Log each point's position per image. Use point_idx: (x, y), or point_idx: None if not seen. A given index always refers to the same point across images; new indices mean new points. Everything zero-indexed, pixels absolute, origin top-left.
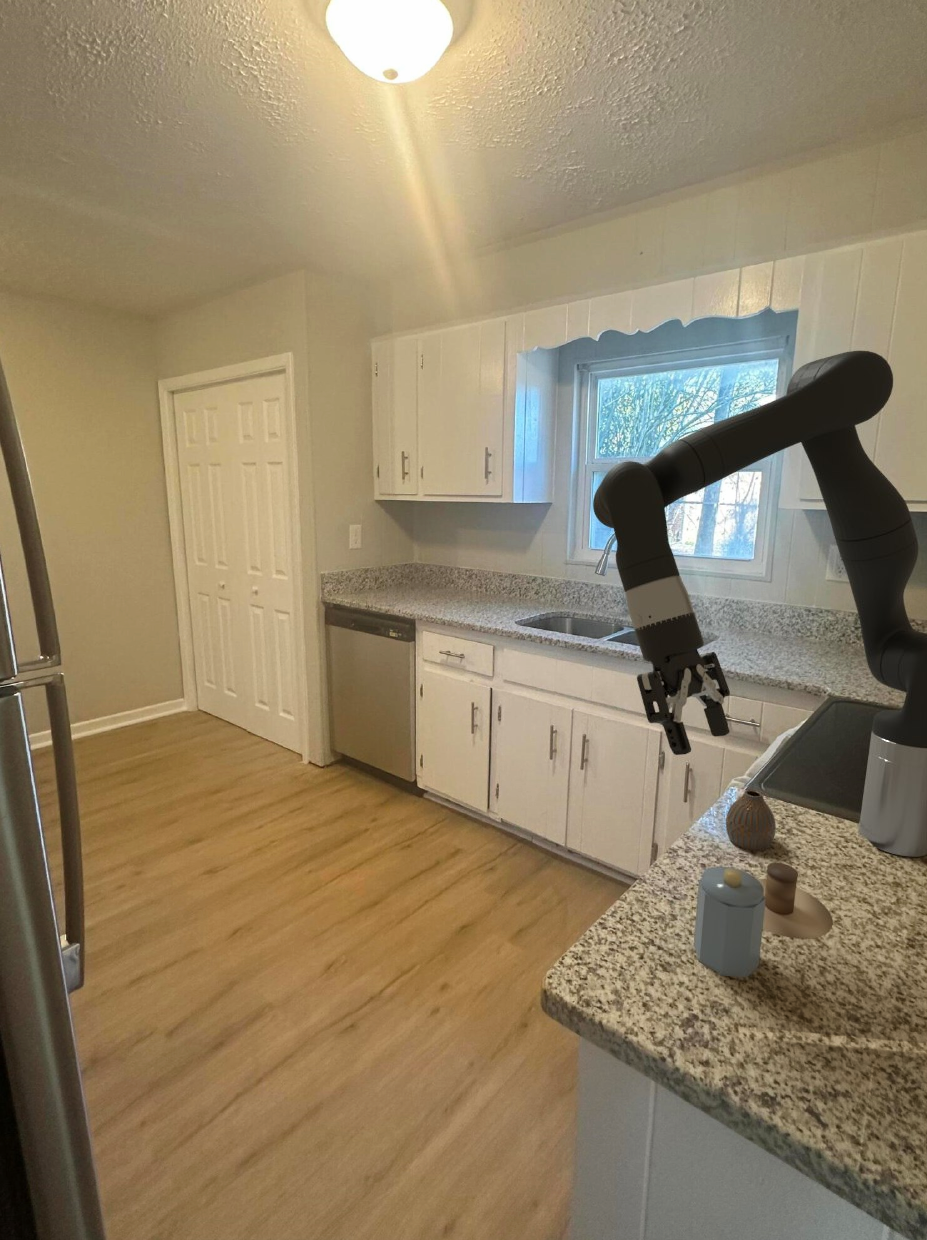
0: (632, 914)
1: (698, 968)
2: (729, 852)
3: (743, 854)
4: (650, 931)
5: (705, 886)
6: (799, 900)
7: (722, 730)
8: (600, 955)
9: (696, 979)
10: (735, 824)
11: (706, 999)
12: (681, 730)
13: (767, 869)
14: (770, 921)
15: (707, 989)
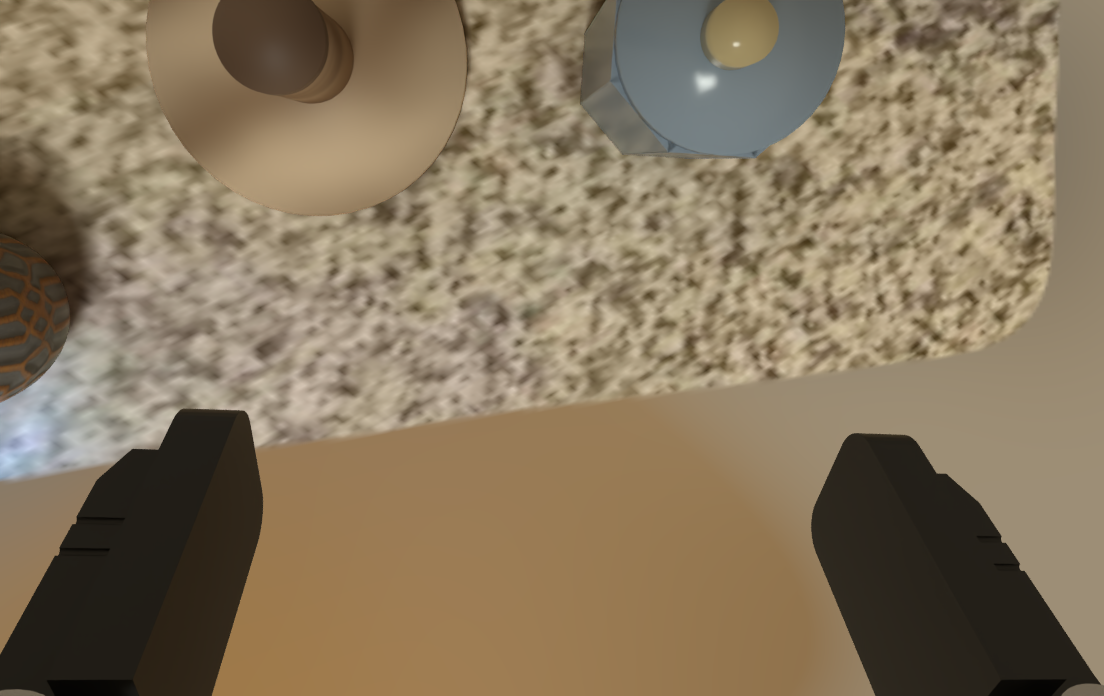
0: (666, 357)
1: None
2: (112, 327)
3: (81, 288)
4: (695, 283)
5: (818, 103)
6: None
7: (239, 461)
8: (873, 318)
9: None
10: (32, 347)
11: None
12: (1015, 601)
13: (304, 85)
14: (410, 42)
15: None
